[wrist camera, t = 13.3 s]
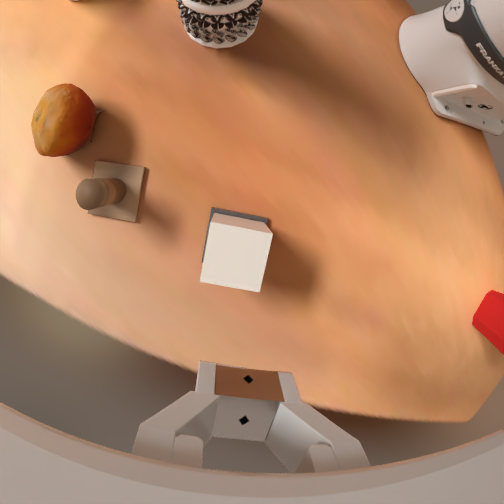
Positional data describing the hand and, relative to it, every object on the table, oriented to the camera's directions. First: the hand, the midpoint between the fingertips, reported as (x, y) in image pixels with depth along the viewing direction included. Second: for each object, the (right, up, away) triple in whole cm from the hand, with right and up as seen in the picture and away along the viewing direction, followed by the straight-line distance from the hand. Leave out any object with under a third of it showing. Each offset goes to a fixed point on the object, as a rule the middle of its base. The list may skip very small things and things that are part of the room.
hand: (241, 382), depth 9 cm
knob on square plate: (-15, +11, +21) cm, 28 cm away
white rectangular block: (-1, +5, +22) cm, 23 cm away
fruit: (-20, +19, +19) cm, 33 cm away
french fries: (+40, -5, +29) cm, 50 cm away
